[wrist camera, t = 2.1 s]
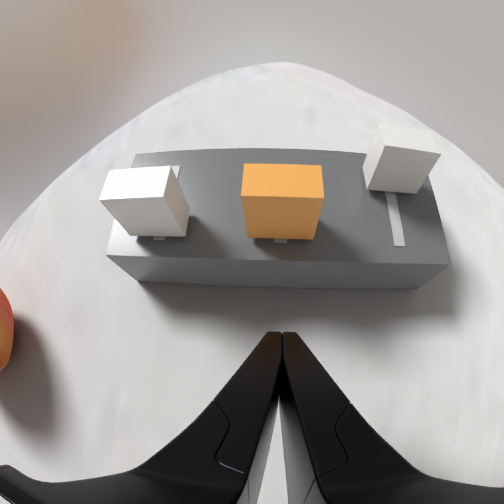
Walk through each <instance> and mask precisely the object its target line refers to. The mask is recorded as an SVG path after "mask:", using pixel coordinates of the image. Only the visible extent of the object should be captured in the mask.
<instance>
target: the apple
mask: <svg viewBox="0 0 504 504" xmlns="http://www.w3.org/2000/svg"><path fill="white" fill-rule="evenodd" d="M13 339H14V319H13V313H12V309H11V306H10V303H9V301H8V299H7V297H6V295H5V294H4V292H3V291H2V290H1V289H0V371H1V370H2V369H4V368H5V367H6V365H7V364H8V362H9V359H10V356H11V352H12V347H13Z"/></svg>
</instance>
